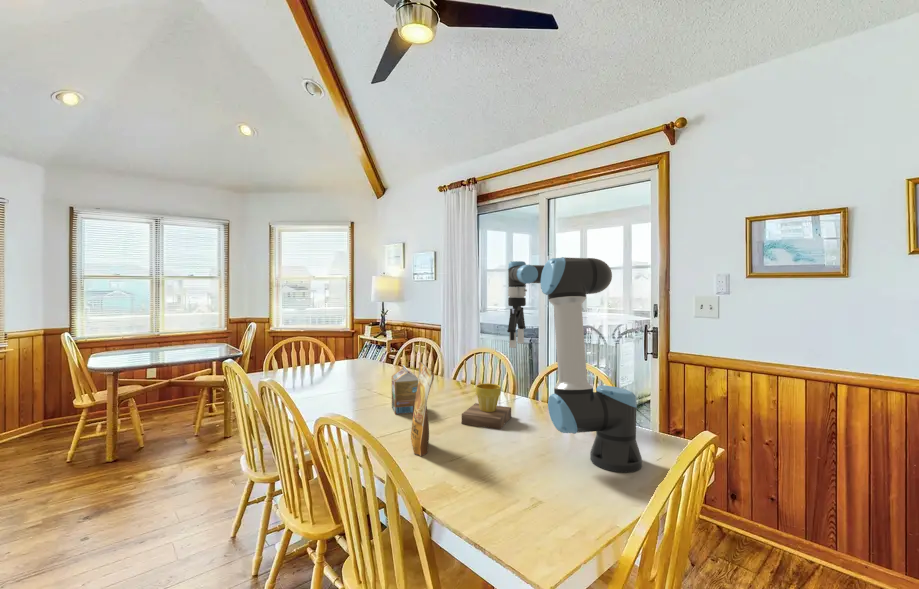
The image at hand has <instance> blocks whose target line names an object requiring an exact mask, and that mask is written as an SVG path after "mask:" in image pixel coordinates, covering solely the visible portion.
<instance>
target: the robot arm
mask: <svg viewBox="0 0 919 589" xmlns="http://www.w3.org/2000/svg"><path fill="white" fill-rule="evenodd" d="M507 271H508V279H507V280H508V282H507V283H508V287H507V288H508V290H507V294H508V295H507V296H508V302H507V303H508V304H507V305H508V306H509V307H512V308H510V309H509V318H508V319H509V320H508V326H507V327H508V328H507V330H506V331H507V333H509V338H508V339H509V340H508V341H509V348H510V349H516V348H517V344H525V335H524V334H525V330H526V327H527V326H526V322H525V314H524V307H526V305H527V302H526V301H527V299H526V297H527V296H526V292H528V289H527V288H526V287H527V284H528V285H529V284H540V289H541V293H542V294H544V295H546V296H547V297H548V302H549V303H550V304H552V307H553V313H554V315H553V316H554V331H555V343H556V344H555V345H556V359H557V360H556V361H557V374H558V382H557V383H556V385H555V386H554V387H553V389H554V390H553V391H554V393H552V394H550V395H549V396H548V402H547V407H548V408H547V410H548V415H549V416H550V420H551V422H552V424H553V426H554V427H555V429H556V430H558V432H560V433H562V434H578V433H590V432H591V433H592V432H595V434H596V435H595V437H594V438H595V439H594V441H593V444H592V446H591V449H590V459H589V460H590V462H592V464H594V465H595V466H596V467H599V468H600V469H604V470H606V471H610V472H616V473H633V472H636V471H639V470H641V469H642V467H643V458H642V454H641V452H640V448H639V446H638V442H637V409H638V406H637V397H636V394H635V393H634V392H632V391H631V390H628V389H625V388H622V387H617V386H612V385H598V386H597V387H596V389H595V391H594V387H593V385H592V384H590V383H589V382H588V372H587V359H586V357H587V356H586V346H585V343H586V342H585V332H584V321H583V317H584V316H583V306H582V305H583V303H584V302H585V301H586V299H587V295H593V294H597V293H601V292H603V291H604V290H606V289H607V288H608V287H609V285H610V284H611V282H612V278H613V273H612V269H611V267H610V266H609V265H608V263H607V262H606V261H603V260H601V259H598V258H595V257H594V258H593V257H587V258H586V257H563V256H562V257H555V258H554V257H552V258H549V259H548V260H547V261H546V262H545V264H539V265H538V264H533V265H532V264H527V263H526V262H525V261H521V260H517V261H510V262H508V269H507ZM516 331H517V332H516Z"/></svg>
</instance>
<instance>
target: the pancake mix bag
mask: <svg viewBox="0 0 919 589" xmlns="http://www.w3.org/2000/svg"><path fill="white" fill-rule="evenodd" d="M417 378H418V387H417V393H416V399H415V405H414V412H413V413H412V421H411V430H410V440H411V441H410V442H411V446H412V450H413V454H414V455H417V456H420V457H422V456H425V455H426V454H427V453H428V451H429V444H430V442H429V441H430V424H429V414H428V406H427V405H428V398H429V394H430V391H431V388H432V385H433V382H434V380H435V374H434V372H433V371H432V370H431V369H430V368H429V367H428V366H427V365H426V364H425V363H423V362H422V361H419V362H418V377H417Z"/></svg>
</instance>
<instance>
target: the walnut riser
mask: <svg viewBox="0 0 919 589" xmlns="http://www.w3.org/2000/svg"><path fill="white" fill-rule="evenodd" d="M511 418H512V407H511V406H503V405H497V407H496V410H495V411H493V412H484V411H481V410H480V408H479V403H477V402H475V403H474V404H472V405H471V406H470V407H468V408H467V409H466V410H465V411H464V412H462V413H461V425H468V426H475V427H480V428H488V429H497V430H501V429H502V428H503V427H504V426H505V425H506V424H507V422H508V421H509V420H510V419H511Z"/></svg>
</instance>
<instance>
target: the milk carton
mask: <svg viewBox="0 0 919 589" xmlns="http://www.w3.org/2000/svg"><path fill="white" fill-rule="evenodd" d="M417 387H418V377H417V376H416V375H415V374H414V373H413V372H412V371H410V370H409V369H408V368H407V367H406V366H405V364H402V368H401V369H398V371H396V372H394V373H393V374H392V376H391V408H392V411H393V413H394V414H395V415H403V414H404V415H407V414H413V412H414V405H415V399H416V393H417Z"/></svg>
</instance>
